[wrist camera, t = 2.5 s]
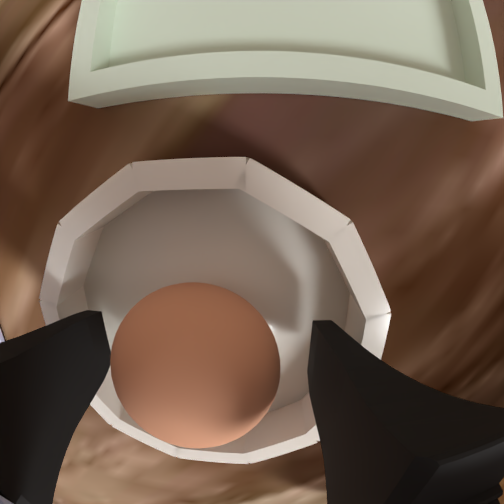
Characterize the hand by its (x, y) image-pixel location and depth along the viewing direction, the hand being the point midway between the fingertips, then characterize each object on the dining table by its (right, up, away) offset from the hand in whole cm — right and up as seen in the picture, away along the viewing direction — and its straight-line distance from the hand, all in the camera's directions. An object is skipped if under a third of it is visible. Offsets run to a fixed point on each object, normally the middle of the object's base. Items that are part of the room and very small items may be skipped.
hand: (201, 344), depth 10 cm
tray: (+3, +14, -2) cm, 14 cm away
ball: (0, 0, +1) cm, 1 cm away
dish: (0, 0, +2) cm, 2 cm away
